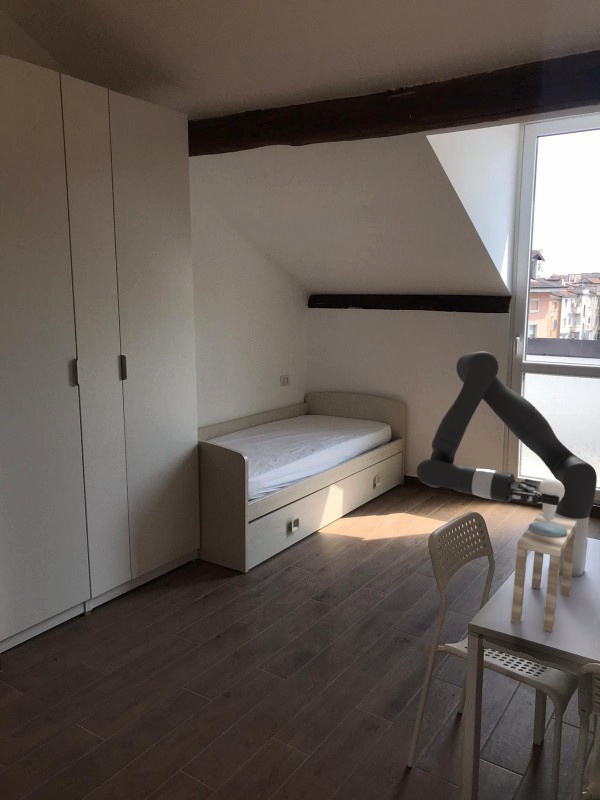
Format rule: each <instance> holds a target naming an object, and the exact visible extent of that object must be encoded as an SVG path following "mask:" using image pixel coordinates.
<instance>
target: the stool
mask: <svg viewBox="0 0 600 800" xmlns="http://www.w3.org/2000/svg"><path fill="white" fill-rule="evenodd" d="M576 526H577V521H575V520H570V519H565V518H560V517H554V519H553V520H550V521H547V520H546V519H544V518H543V513H538V515H537V516H536V517H535V518H534V520H533V521H532V522H531V523H529V525H528V528H527V529H526V530H525V532H524V533H523V534H522V535H521V536H520V538H519V539H518V541H517V544H516V545H517V546H516V555H515V556H516V558H515V569H514V579H513V580H514V581H513V590H512V591H513V593H512V605H511V616H510V622H512V623H516V624H520V623H521V621H522V618H523V617H522V615H523V605H524V594H525V582H526V573H527V572H526V571H527V559H528V551H530V552H531V551H532V552H534V553H533V554H534V555H533V556H534V557H533V565H532V576H531V587H532V588H533V589H535V588H536V590H540V588H541V585H542V574H543V563H544V554H545V555H548V556H549V561H548V570H547V571H548V573H547V581H546V582H547V584H546V585H547V586H546V594H545V605H544V614H543V615H544V616H543V626H542V627H543V628H542V631H545V632H548V633H553V632H554V631H553V630H554V626H555V616H556V615H555V614H556V607H557V596H558V585H559V576H560V574H559V567H560V556H561V553H562V551H563V549H564V547H565V553H564V563H563V574H562V575H561V585H560V595H561V596H562V597H563V596H564V597H570V594H571V587H572V586H571V584H572V577H573V576H572V566H573V556H574V546H575V536H576ZM531 587H530V588H531Z"/></svg>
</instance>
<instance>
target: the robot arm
mask: <svg viewBox="0 0 600 800" xmlns="http://www.w3.org/2000/svg"><path fill="white" fill-rule="evenodd" d="M455 369H456V374H457V375H458V377H459V379H460V381H461V382H462V383H463V385H462V387H461V390H460V392H459V394H458V395H457V397H456V399H455V401H454V402H453V403H452V405H451V406H450V407H449V409H448V410H447V412H446V413H445V415H444V416H443V418H442V419H441V420H440V423H439V426H438V427H437V430H436V433H435V434H434V437H433V439H432V441H431V448H432V452H431V456H430V458H428V459H424V460H422V461H420V462H419V464H418V465H417V468H416V475H417V476H416V477H417V478H418V480H419V481H420V482H421V483H423V484H425V485H426V486H428V487H431V488H435V489H436V488H445V489H452V490H454V491H456V492H459V493H464V494H468V495H472V496H473V495H474V496H477V497H480V498H484V499H489V500H493V501H498V502H503V503H510V501H512V502H513V503H514V502H515V503H521V504H527V505H533V506H538V504H542V503H546V504H551V505H557V508H556V511H555V514H554V517H560V518H565V519H570V520H575V521H577V526H576V536H575V546H574V556H573V566H572V576H571V577H579V576H582V575H583V574H584V571H585V569H586V561H587V552H588V551H587V550H588V543H589V541H588V531H589V521H590V512H591V510H592V508H593V506H594V502H595V497H596V496H595V495H596V491H597V481H598V480H597V479H598V477H597V476H598V475H597V471H596V469H595V467H594V466H592V465H591V464H590V463H588V462H586V460H583V459H582V458H580V457H578V456H577V455H576V454H574V453H573V452H572V450H569V449H568V448H567V447H566V446H565V445H564V444H563V443H562V442H561V441H560V439H558V437H557V435H556V433H555V432H554V430H553V427H552V426H551V425H550V423H549V421H548V420H547V419H546V418H545V416H544V415H543V414H542V413H541V412H540V411H539V410H538V408H536V407H535V406H534V405H533V404H532V403H531V402H530V401H529V400H528V399H526V398H525V397H524V396H522V395H520V394H519V393H517V392H516V391H514V390H513V389H511V388H509V387H508V386H507V385H505V384H504V383H503V382H502V381H501V380H500V379H499V378H498V376H497V375H498V372H499V361H498V360H497V358H496V357H495V355H494V354H493V353H491V352H488V351H473V352H468V353H465V354H463V355H461V356H460V357H459V358H458V360H457V362H456V366H455ZM482 400H483V401H484V403H486V404H487V405H488V406H489V408H490V409H491V410H492V411H493V412H494V413H495V415H496V416H497V417H498V418H499V419H500V420H501V421H502V422H503V423H504V425H505V426H506V427H507V428H508V429H509V430H510V431H511V433H512V434H513V435H514V436H516V438H517V439H518V440H519V441H521V442H522V444H524V445H525V446H526V447H527V448H528V449H529V450H530V451H531V452H533V453H534V454H536V455H537V456H538V457H539V459H540V460H541V461H542V462H543V463H544V465H545V466H546V468H548V470H549V471H550V473H551V474H552V476H553V478H555V479H557V480H559V481H560V482H561V483H562V484H563V486H564V489H565V493H564V496H563V498H562V499H561V500H560V502H559V496H555V495H548V494H543V493H541V492H538V487H539V485H540V483H541V482H542V481H537V480H532V479H528V478H526V479H524V480H520V481H516V479H515V475H514V474H513V473H512V472H505V471H500V470H494V469H488V468H479V467H478V468H477V467H471V466H466V465H459V464H454V462H455V456H456V453H457V451H458V449H459V446H460V445H461V442H462V441H463V438H464V435H465V433H466V430H467V429H468V426H469V424H470V422H471V420H472V418H473V416H474V414H475V413H476V410H477V408H478V407H479V405H480V403H481V401H482ZM564 553H565V547H564V549H563V551H562V553H561V556H560V567H559V575H561V576H562V574H563V563H564Z"/></svg>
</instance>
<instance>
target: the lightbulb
mask: <svg viewBox="0 0 600 800" xmlns="http://www.w3.org/2000/svg"><path fill="white" fill-rule="evenodd" d="M540 482H541V483H540V485H539V487H538V492H541V493H543V494H548V495H555V496H559V502H560V500H561V499H562V498H563V496H564V493H565V489H564V486H563V484H562V483H561V482H560V481H559V480H557V479H556V478H555V477H547V478H544V479H543V480H542V481H540ZM541 504H542V514H543V518H544V519H546V520H547V521H550V520H553V519H554V514H555V511H556V508H557V505H551V504H546V503H541Z"/></svg>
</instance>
